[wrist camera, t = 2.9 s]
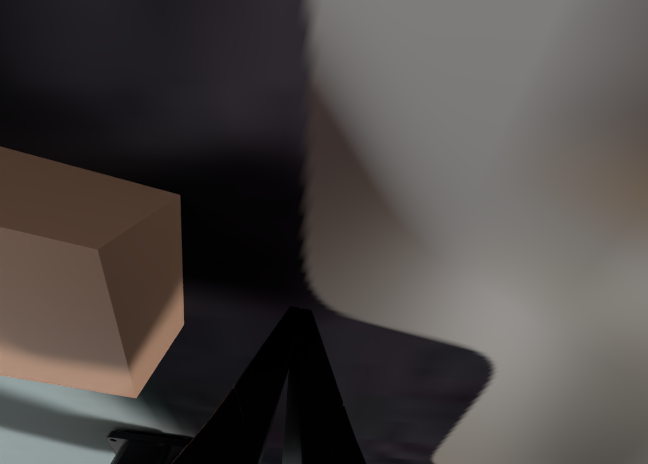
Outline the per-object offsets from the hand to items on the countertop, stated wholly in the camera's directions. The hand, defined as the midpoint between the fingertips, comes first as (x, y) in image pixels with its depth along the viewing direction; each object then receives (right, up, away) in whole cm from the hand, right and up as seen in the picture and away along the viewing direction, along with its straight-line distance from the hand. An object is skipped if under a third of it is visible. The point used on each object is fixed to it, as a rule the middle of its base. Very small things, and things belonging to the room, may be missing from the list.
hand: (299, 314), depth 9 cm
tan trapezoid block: (-8, +3, +1) cm, 9 cm away
